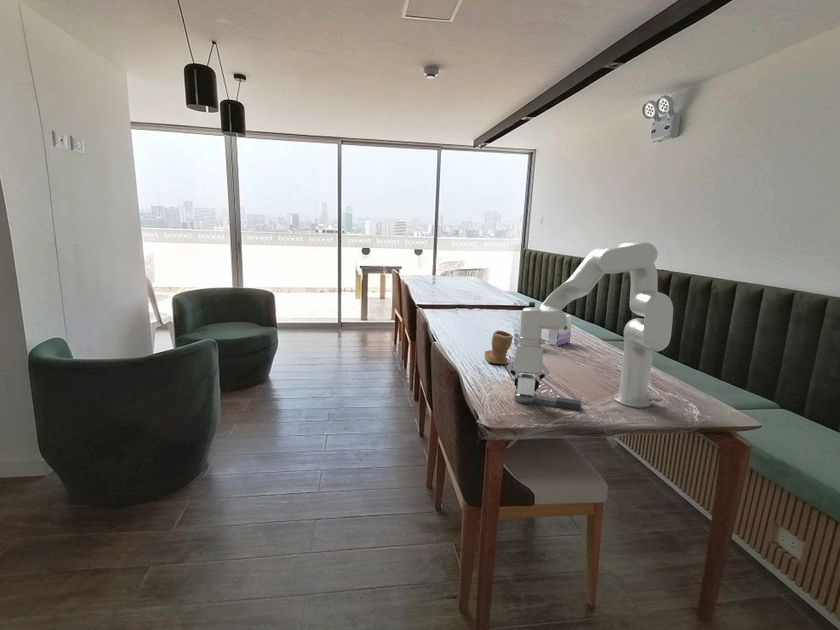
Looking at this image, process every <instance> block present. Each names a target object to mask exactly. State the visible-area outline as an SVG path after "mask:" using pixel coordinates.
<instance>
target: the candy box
mask: <svg viewBox="0 0 840 630" xmlns="http://www.w3.org/2000/svg"><path fill="white" fill-rule="evenodd" d="M565 315H566V316H567V324H566V326H565V327H564V328H563V329H560V330H549V333H548V343H547V344H548V345H549V344H551V345H550V346H553V345H556V346H555V347H558V346H557V345H560V346H562V345H561V344H564V343H567V344H569V343H568V342H570V343H571V332H572V322H573V315H570V314H565ZM564 345H565V344H564Z"/></svg>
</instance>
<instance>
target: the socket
mask: <svg viewBox="0 0 840 630" xmlns="http://www.w3.org/2000/svg"><path fill="white" fill-rule="evenodd" d="M535 380H536V377H535V374H533V373H525V372H520V373H519V377H518V387H517V389H516V391H517V393H519V394H526V395H533V396H534V393H535ZM535 394H536V393H535Z"/></svg>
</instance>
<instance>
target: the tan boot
mask: <svg viewBox="0 0 840 630" xmlns="http://www.w3.org/2000/svg"><path fill="white" fill-rule="evenodd" d="M513 340H514V336H513V335H512V333H510V332H507V331H505V330H495V331H494V332H493V334H492V337H491V350H485V351H484V356H485V359H486V360H487V361H488V362H489V363H492V364H494V365H497V364H499V365H504V364H507V362H508V359H507V354H508V351H509V349H510V347H511V346H512V344H513Z"/></svg>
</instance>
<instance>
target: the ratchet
mask: <svg viewBox="0 0 840 630" xmlns="http://www.w3.org/2000/svg"><path fill="white" fill-rule="evenodd" d="M513 399H514V400H513V401H514V402H516V403H517V404H521V405H526V406H531V405H541V406H547V407H555V408H559V409H566V410H573V411H582V407H583V406H582V405H583V403H582V401H581V400H579V399H573V398H572V399H571V398H565V397H558V396H557V397H551V396H545V395H538V394H537V393H534V396H533V395H526V394H519V393H517V390H516V391H514V397H513Z"/></svg>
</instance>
